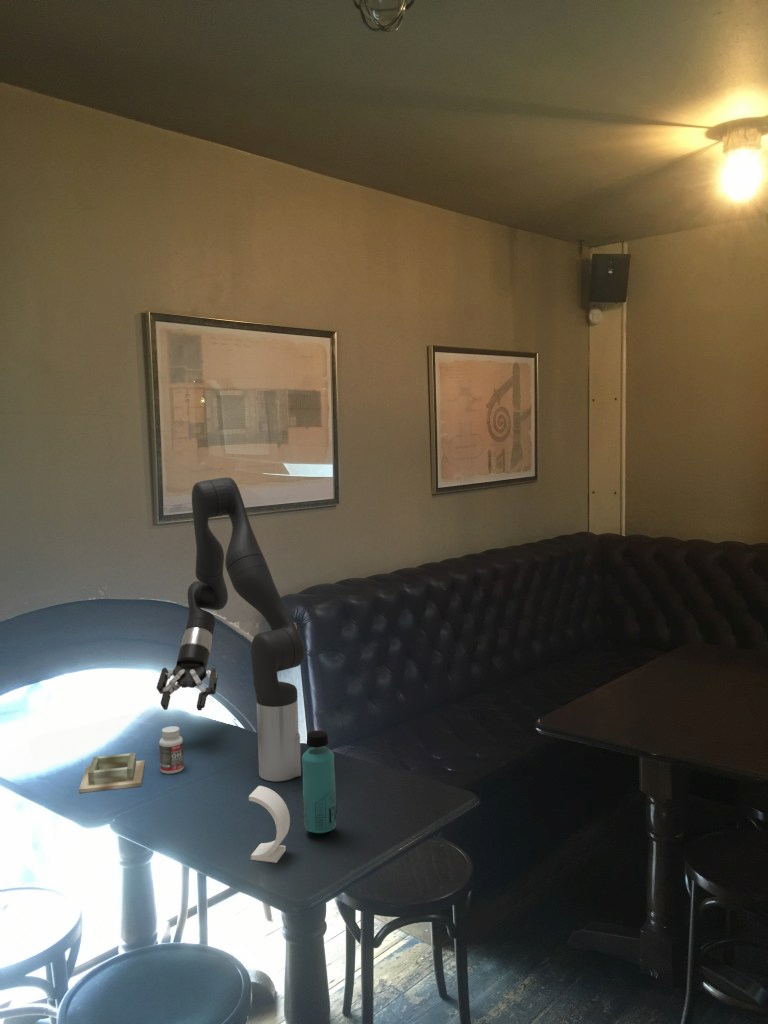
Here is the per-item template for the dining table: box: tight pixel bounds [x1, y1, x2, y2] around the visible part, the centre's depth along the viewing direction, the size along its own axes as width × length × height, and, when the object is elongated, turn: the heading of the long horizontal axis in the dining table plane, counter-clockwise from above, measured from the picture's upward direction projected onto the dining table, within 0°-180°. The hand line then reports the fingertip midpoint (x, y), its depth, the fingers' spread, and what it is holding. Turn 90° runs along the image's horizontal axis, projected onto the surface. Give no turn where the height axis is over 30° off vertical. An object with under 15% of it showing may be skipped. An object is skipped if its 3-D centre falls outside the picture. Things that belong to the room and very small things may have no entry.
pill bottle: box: [158, 725, 185, 775], centre depth 188 cm, size 5×5×10 cm
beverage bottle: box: [301, 730, 338, 834], centre depth 156 cm, size 6×7×20 cm
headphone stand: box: [248, 785, 291, 864], centre depth 148 cm, size 5×6×12 cm
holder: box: [78, 752, 146, 794], centre depth 184 cm, size 13×13×4 cm
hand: (181, 708), depth 195 cm, fingers open, 8 cm apart
